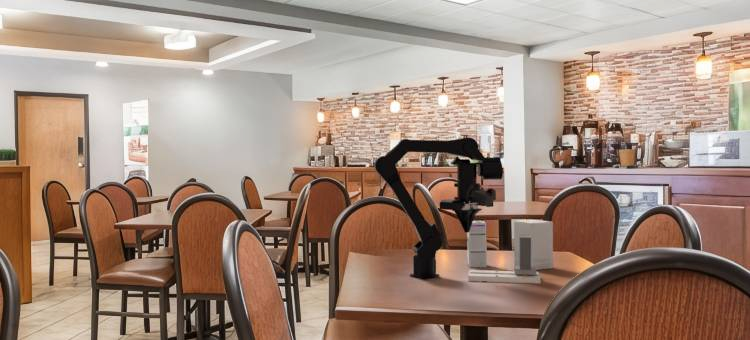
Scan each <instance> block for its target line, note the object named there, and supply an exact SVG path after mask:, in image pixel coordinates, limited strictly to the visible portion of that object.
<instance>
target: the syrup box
mask: <svg viewBox="0 0 750 340" xmlns="http://www.w3.org/2000/svg"><path fill="white" fill-rule="evenodd" d="M466 243H467V244H466V245H467V246H466V249H467V250H466V251H467V252H466V253H467V256H466V261H467V266H468V267H469V268H476V267H480V268H487V267H488V263H487V262H488V261H487V259H488V257H487V256H488V254H487V251H488V250H487V249H488V248H487V247H488V246H487V245H488V244H487V223H486V222H485V221H484V220H473V222H472V225H471V228H470V231H469V232H466Z"/></svg>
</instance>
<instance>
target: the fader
mask: <svg viewBox="0 0 750 340" xmlns="http://www.w3.org/2000/svg"><path fill="white" fill-rule="evenodd" d="M513 271H514V274H525V275H536V272H537V270H536V268H535V266H531V237H530V235H519V266H514V265H513Z"/></svg>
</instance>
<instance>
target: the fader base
mask: <svg viewBox="0 0 750 340" xmlns="http://www.w3.org/2000/svg"><path fill="white" fill-rule="evenodd" d="M467 275H468V276H467V281H468V282H482V281H487V282H488V283H512V284H513V283H515V284H516V283H517V284H541V283H542V282H541V280H542V279H541V276H540V273H539V271H536V275H525V274H514V270H512V271H511V270H497V269H495V270H487V269H486V270H484V269H483V270H481V269H468V274H467ZM487 282H486V283H487Z"/></svg>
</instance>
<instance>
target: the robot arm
mask: <svg viewBox="0 0 750 340" xmlns="http://www.w3.org/2000/svg"><path fill="white" fill-rule="evenodd" d="M408 153H429V154H430V153H431V154H432V153H436V154H439V153H440V154H447V155H453V156H455V157H454V158H453V160H452V161H451V162H450V165H453V166H456V171H457V172H456V173H457V174H456V177H457V178H456V180H457V181H456V183H453V187H455V188H456V189H457V193H456V195H457V196H454V197H453V198H454V199H453V198H452V199H451V198H446V199H441V200H440V201H439V210H445V211H446V210H447V211H452V212H454V213H455V215H456V217H457V219H458V221H459V222H460V225H461V227H462V229H463V231H464V233H467V232H469V231H470V228H471V225H472V222H473V221H474V219H475V216H476V214H479V212H481V211H482V208H479V206H481V207H486V208H490V207H491V208H493V207H494V201H496V200H497V198H496V197H497V193H496V189H494V188H487V189H482V188H481V184H480V183H477V180H478V179H477V177H480V178H481V181H484V180H485V181H486V180H487V181H488V180H490V181H491V180H493V181H494V180H495V181H496V180H499V181H500V180H502V179H503V175H504V168H503V164H502V161H501V158H502V157H500V156H494V157H485V156H484V155H483V153H482V152H481V151H480V149H479V144H478V142H477V141H476V139H475V138H473V137H465V138H464V137H463V138H456V139H449V140H432V139H431V140H430V139H429V140H428V139H423V140H422V139H408V138H403V139H401V140H399V142H398V143H397V144H396V145H395V146H394V147H393V148H392V149H391V150H389V151H388V152H387V153H386V154H385V155H382V156H378V157H377V158H375V161H374V163H373V168H374V170H375V172H376V173H377V174H378V175H379V177H380V178H382V180H383V181H384V182H385V183H386V184H387V185H388V186H389V188H390V189H391V191H392V192H393V194H394V196H395V197H396V198H397V200H398V202H399V203H400V205H401V207H402V208H403V210H404V211H405V213H406V215H407V216H408V218H409V220H410V221H411V223H412V225H413V226H414V230H415V231H416V235H417V237H418V241H417V242H416V243H415V244H414V245H413V246H412V249H413V252H414V254H415V255H413V261H412V263H413V268H412V269H413V271H412V272H413V273H409V276H410V277H414V278H419V279H424V280H426V279H430V278H431V279H432V278H437V277H440V274H439V273H437V260H436V254H437V252H438V251H439V250H440V249H441V247H442V246H443V239H442V237H443V234H442V233H441V232H440V231H439V230H438V227H437V225H436V223H435V222H433V221H431V222H428V221H427V220H426V219H425V216H423V213H422V212H421V211H420V209H419V208H418V205H417V204H416V202H415V200H414V199H413V198H412V196H411V194H410V193H409V192H408V190H407V187H406V186H405V185H404V183H403V182H402V179H401V177H400V173H399V170H398V169H397V166H396V165H397V164H398V163H399V162H400V161H401V160H402V159H403V157H404V156H406V154H408ZM460 157H462V158H461V159H460ZM471 160H472V161H478V162H471ZM441 236H442V237H441Z"/></svg>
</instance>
